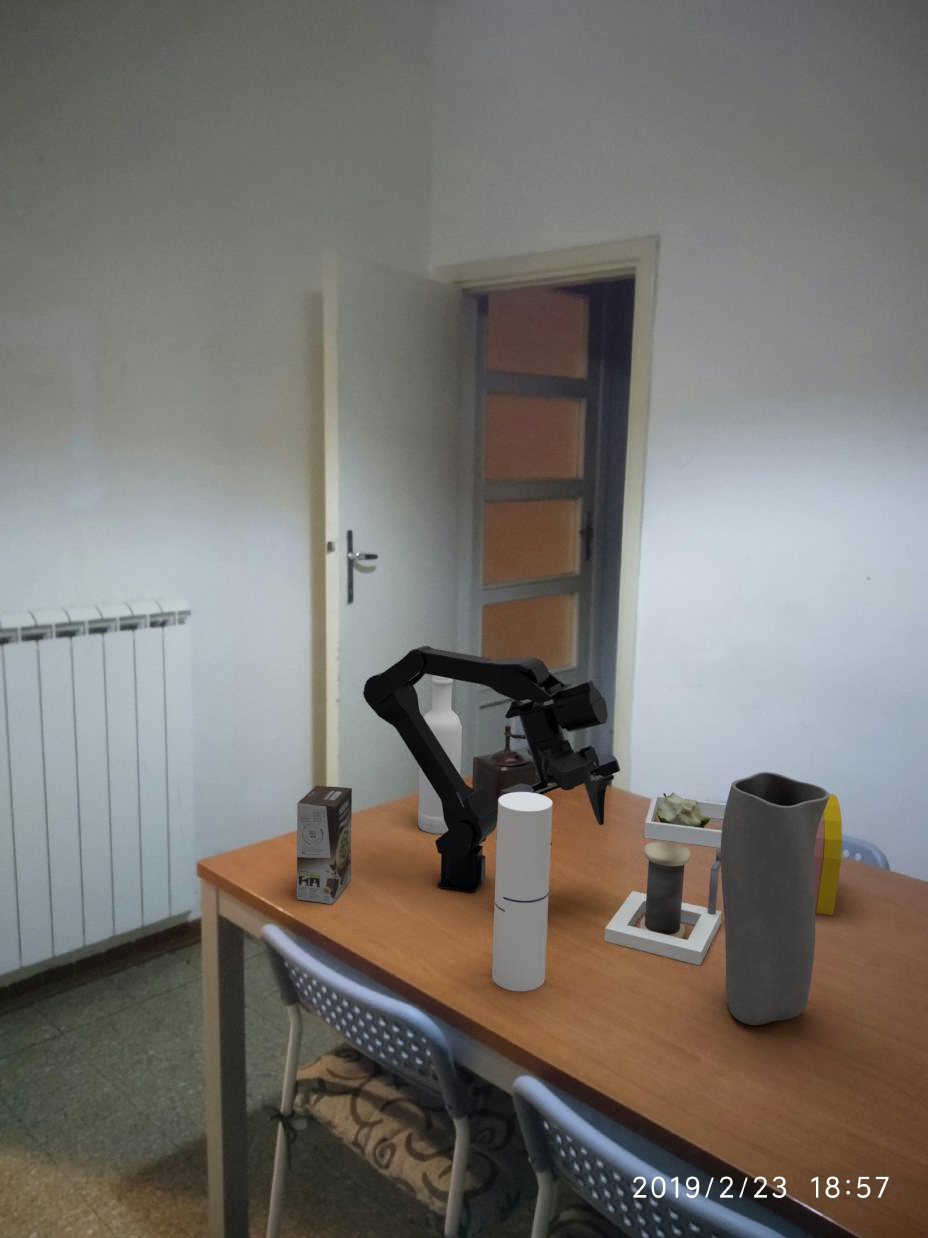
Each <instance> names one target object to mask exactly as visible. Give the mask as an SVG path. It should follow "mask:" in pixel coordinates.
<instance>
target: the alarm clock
mask: <svg viewBox="0 0 928 1238" xmlns="http://www.w3.org/2000/svg"><path fill="white" fill-rule="evenodd" d="M829 795H830V797H829V799H828V802H827V805H826V807H825V810H824V812H823V815H822V818H821V821H820V824H819V827H818V831H817V835H816V840H815V847H814V862H813V870H814V894H815V914H819V915H826V914H827V915H828V916H834V911H835V907H836V906H835V905H836V898H837V892H838V886H839V877H840V870H841V862H842V850H843V828H842V827H843V826H842V824H843V822H842V821H843V820H842V814H841V806H840V802H839V799H838V797H837V796H836V795H835V794H834V793H829Z"/></svg>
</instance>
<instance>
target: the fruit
mask: <svg viewBox="0 0 928 1238" xmlns="http://www.w3.org/2000/svg"><path fill="white" fill-rule="evenodd" d="M662 796H665V800H664V801H663V802H661V803H660V805H659V807H658V809H657V812H656V815H657V818H658V820H659V822H660V823H667V824H675V825H683V826H691V827H698V828H705V827H706V825H708V823H709V822H710V821H711V818H708V817H707V816H706V815H705V814H703V813H702V811H701V810H700V808H699V805H698V804H699V803H698V802H697V801H696V800H697V799H693V800H691V798H684V799H683V797H681V796H680V795H678V794H676V793H675V792H672V793H671V794H670V795H666V793H665V792H664V793H663V795H662Z"/></svg>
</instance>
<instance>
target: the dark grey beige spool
mask: <svg viewBox="0 0 928 1238" xmlns="http://www.w3.org/2000/svg"><path fill="white" fill-rule="evenodd" d="M643 855H644V857H645V859H647V861H648V863H647V864H648V865H647V868H648V869H647V881H646V883H647V885H646V894H647V895H646V910H645V913H644V915H645V916H644V917H643V918H642V919H641V920H640V922H639V928H640V929H644V930H649V931H653V932H657V933H661V934H665V935H669V936H673V937H677V938H681V939H685V930H686V928H685V925H684V924H683V922H680V921H681V907H682V902H683V890H684V878H685V877H684V876H685V875H684V874H685V865H687V864H688V863H689V862H690V860H691V851H690V849H688V847H686V846H684V845H682V844H680V843H677V842H672V841H653V842H650V843H647V844H646V845H645V846H644V854H643Z"/></svg>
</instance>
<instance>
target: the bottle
mask: <svg viewBox="0 0 928 1238" xmlns="http://www.w3.org/2000/svg"><path fill="white" fill-rule="evenodd" d="M431 683H432V688H431V691H432V692H431V693H432V695H431V697H432V698H431V709H430V710H429V711H428V712H427V713H426V714H425V715H423V718H424V719H425V721H426V723H427V724H428V726H429V727H430V729H431V730H432V732H433V734H434V735H435V737H436V738H437V740H438V741H439V743H440V745H441V746H442V748H443V749H444V751H445V752H446V754H447V756H448V757H449V759H450V760H451V762H452V763H453V765H454V766H455V768H456V770H457V771H458V773H459V774H460V776H461V774H462V773H461V772H462V771H461V770H462V768H461V767H462V741H463V740H462V738H463V737H462V736H463V735H462V733H463V732H462V730H463V727H462V723H461V720H460V717H459V716H458V715H457V713H455V711H453V710H452V699H453V698H452V694H453V692H452V689H453V683H454V679H450V678H445V677H440V676H434V675H432V678H431ZM418 773H419V774H418V775H419V776H418V778H419V779H418V783H419V784H418V809H417V810H418V811H417V819H418V820H417V821H418V824H417V825H418V828H419V829H421V830H422V831H423V832H426V833H429V834H435V835H436V834H437V835H440V834H441V835H443V834H444V833H446V832H447V831H448V828H447V826H446V824H445V821H444V817H443V809H442V802H441V800H440V798H439V796H438V795H437V793H436V792H435V790H434V788H433V787H432V785H431V784H430V782H429V780H428V779H427V777H426V776H425V774H424V773H423V771H422V769H421V768H420V767H419V772H418ZM461 777H462V776H461Z"/></svg>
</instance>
